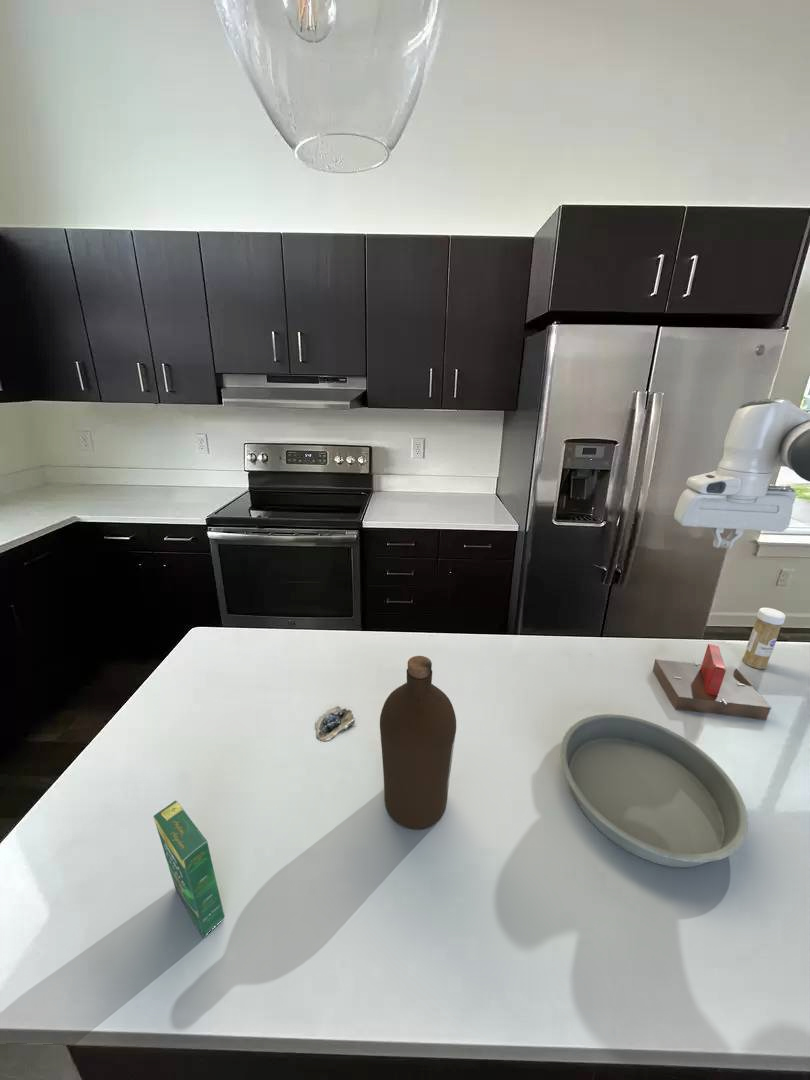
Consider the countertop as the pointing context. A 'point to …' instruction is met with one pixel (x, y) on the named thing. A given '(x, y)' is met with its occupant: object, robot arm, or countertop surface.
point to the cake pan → (653, 791)
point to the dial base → (690, 694)
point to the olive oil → (417, 748)
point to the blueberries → (333, 723)
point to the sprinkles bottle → (763, 637)
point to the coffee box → (190, 866)
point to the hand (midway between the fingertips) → (721, 547)
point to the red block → (713, 669)
